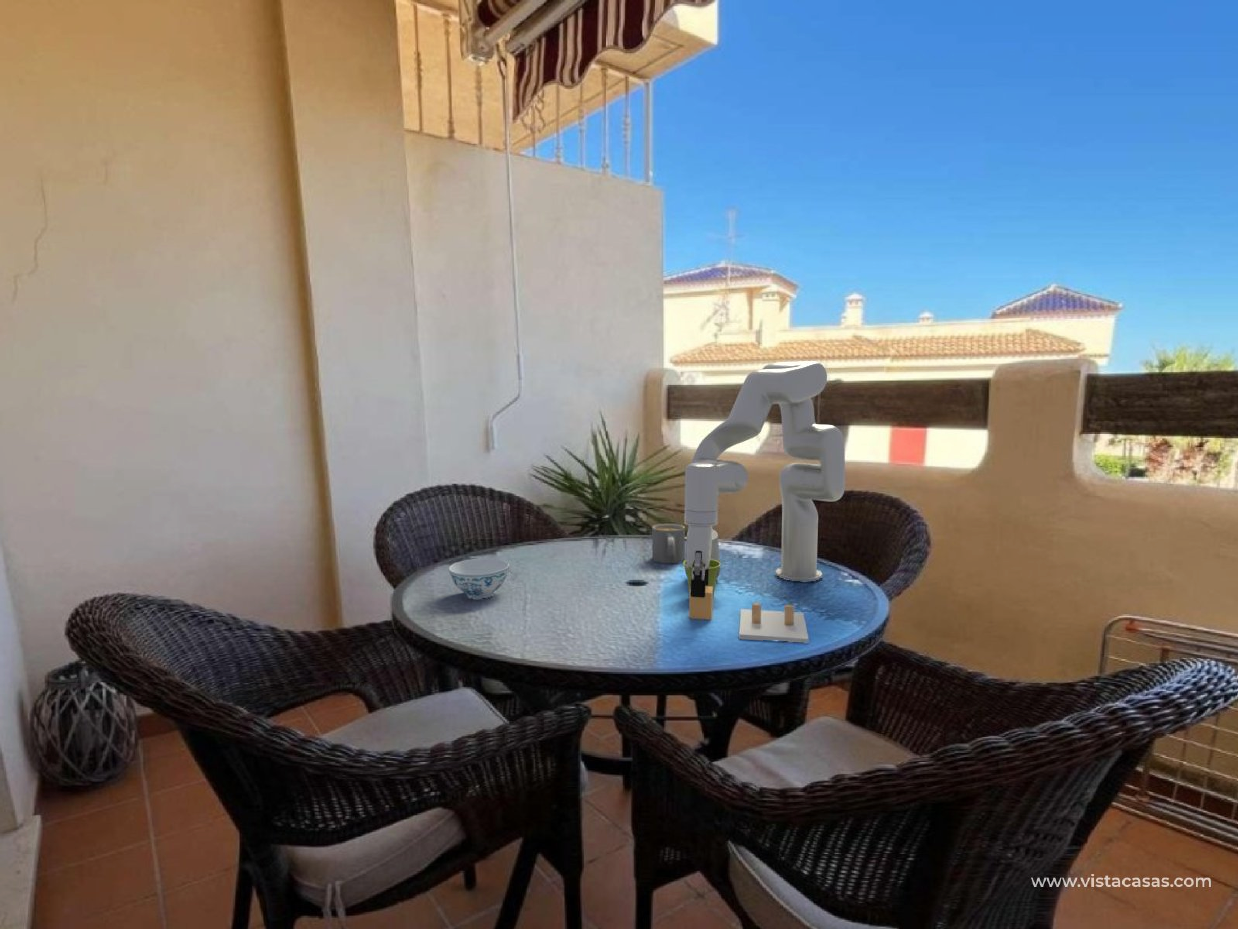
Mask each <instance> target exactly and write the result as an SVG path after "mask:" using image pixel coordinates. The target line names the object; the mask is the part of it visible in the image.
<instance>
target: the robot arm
mask: <svg viewBox="0 0 1238 929" xmlns="http://www.w3.org/2000/svg"><path fill="white" fill-rule="evenodd" d="M827 373H828V372H827V369H826V368H825V366H824V365H823V364H822V363H821V362H819V361H814V360H813V361H812V360H811V361H804V360H803V361H781V362H773V363H772V362H771V363H768V364H767V365H764V366H763V367H762V369H756V370H753V371H752V372H750V373H748V374H747V376H746V377H745V379H744V381H743V383H742V386H741V388H740V389H739V392H738V395H737V397H736V399H735V402H734V404H733V407H732V408H731V411H730V413H729V416H728V417H727V419H725V420H724V421H723V422H722V423H720V424H719V425H718V426H716V427H715V428H714V429H713V430H711V432H709V433H708V434H707V435H706V436H704V437H703V439H702V440H701V441H700V443H699V444H698V446H697V448H696V450H695V453H694V455H693V457H692V459H691V462H690V463H689V464H687V465H686V467H685V470H684V472H685V473H684V478H685V479H684V524H685V525H686V526H688V530H687V532H688V543H687V565H686V567H687V568H688V569H689V568H690V567H692V579H691V597H701V598H704V597H705V585H708V579H709V568H708V567H709V563H710V558H711V549H712V529H713V527H715V526H717V525H718V524H719V522H718V521H719V517H718V516H719V495H720V494H736V493H739V492H741V491H743V490H744V488H745V487H746V486H747V484H748V481H749V473H748V470H747V468H746V467H745V466H744V465H743V464H742V463H740V462H737V461H732V460H723V459H718V458H720V455H722V454H723V453H724V452H725V451H726V450H728V449H730V448H732V447H733V446H735V445H738V444H741V443H744V442H747V441H749V440H752V439H754V438H755V437H757V436H758V435H759V434H761V432H762V429H763V427H764V425H765V422H766V420H767V417H768V415H769V413H770V411H771V408H772V406H773V405H778V406H779V408H780V413H781V414H780V415H781V430H782V431H781V432H782V433H781V434H782V447H783V451H784V453H785V455H786V456H787V457H789V458H791V459H796V460H797V459H798V460H804V461H806V460H808V461H818V462H819V464H815V463H805V462H793V463H791V462H790V463H788V464H787V465H784V467H783V468H781V470H780V473H779V477H778V483H779V485H778V486H779V490H780V497H781V508H782V509H781V510H782V511H781V512H782V513H781V516H782V517H781V558H780V560H781V561H780V562H781V565H780V566H781V567H778V568H777V569H776V570H775V573H776V574H775V576H776V575H777V576H779V577H780V578H779V579H781V578H785V579H789V580H794V581H813V580H817V579H819V578H822V579H823V572H822V571H821V570H819V569H817V567H818V566H817V565H818V533H819V532H818V529H819V525H818V524H819V513H818V510H817V507H816V506H815V503H814V501H820V502H821V501H822V502H837V501H838V500H840V499H841V498H842V497H843V495H844V494H845V489H846V457H845V456H846V454H845V440H844V436H843V433H842V432H841V430H840V429H839V428H838V427H836V426H834V425H831V424H817V423H816V420H815V418H816V417H815V408H814V403H813V400H812V398H814V397H816V396H818V395H819V394H820V393H822V392H823V390H824V389H825V387H826V385H827V381H828V374H827ZM692 565H693V566H692ZM777 576H776V577H777Z"/></svg>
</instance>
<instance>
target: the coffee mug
mask: <svg viewBox="0 0 1238 929" xmlns="http://www.w3.org/2000/svg"><path fill="white" fill-rule="evenodd" d="M651 530H652V532H651V533H652V537H651V541H652V543H651V546H652V548H651V549H652V552H651V553H652V560H653V561H654V562H656V563H661V564H678V563H682V562H684V561H685V555H686V544H685V543H686V542H685V540H686V538H685V537H686V536H685V534H686V532H685V531H686V529H685V526H684V525H681V524H678V523H677V524H676V523H660V524H655V525H652V529H651Z"/></svg>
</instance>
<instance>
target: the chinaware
mask: <svg viewBox="0 0 1238 929" xmlns="http://www.w3.org/2000/svg"><path fill="white" fill-rule="evenodd" d="M448 570H449V576H450V577H451V580H452V582H453V584H454V585H455V586H456V587H457V589H459V590H460V591H461V592H462V593H464V594H466V597H467V596H468V597H470V598H474V599H473V600H482V599H481V598H486V597H489V598H491V597H490V596H492V595H493V594H495V592H496V591H497V590H498V589H499V588H500V587H501V586H502V585H503V584H504V582H505V580H506V578H507V576H508V573H509V570H510V564H509V562H508V561H505V560H503V559H499V558H498V559H497V558H474V559H466V560H462V561H458V562H455V563H453V564H451V565H450V566H449V568H448ZM493 596H494V595H493ZM493 596H492V597H493ZM468 597H467V598H468ZM470 598H469V599H470ZM486 599H487V598H486Z"/></svg>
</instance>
